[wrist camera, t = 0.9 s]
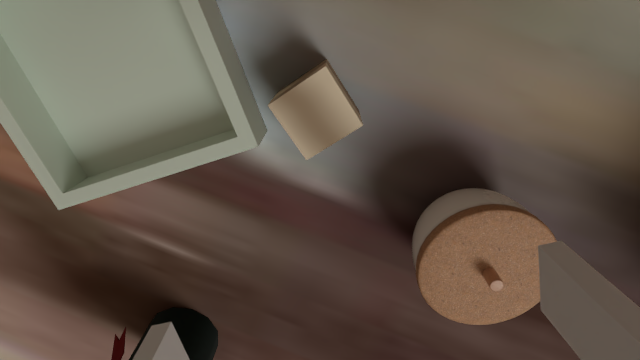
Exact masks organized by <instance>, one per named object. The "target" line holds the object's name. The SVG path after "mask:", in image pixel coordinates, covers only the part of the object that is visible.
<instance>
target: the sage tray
mask: <svg viewBox="0 0 640 360" xmlns="http://www.w3.org/2000/svg"><path fill="white" fill-rule="evenodd" d="M0 123H1V124H2V126H3V127H4V129H5V130H6V132H7V133H8V135H9V136H10V138H11V139H12V141H13V142H14V144H15V145H16V147H17V148H18V150H19V151H20V153H21V154H22V156H23V157H24V159H25V160H26V162H27V163H28V165H29V166H30V168H31V169H32V171H33V172H34V174H35V175H36V177H37V179H38V180H39V182H40V183H41V185H42V186H43V188H44V189H45V191H46V192H47V194H48V195H49V197H50V198H51V200H52V201H53V203H54V204H55V206H56V207H57V209H58V210H61V209H64V208H67V207H70V206H73V205H76V204H79V203H83V202H86V201H89V200H92V199H95V198H98V197H101V196H105V195H108V194H111V193H114V192H117V191H120V190H124V189H127V188H130V187H133V186H136V185H139V184H142V183H146V182H149V181H152V180H155V179H158V178H161V177H164V176H168V175H171V174H174V173H177V172H180V171H183V170H187V169H190V168H193V167H196V166H199V165H202V164H205V163H209V162H212V161H215V160H218V159H221V158H224V157H227V156H231V155H234V154H237V153H240V152H243V151H246V150H250V149H253V148H256V147H258V146H259V145H260V143H261V141H262V139H263V137H264V136H265V134H266V132H267V129H266V126H265V124H264V121H263V119H262V116H261V113H260V111H259V108H258V106H257V103H256V101H255V98H254V96H253V93H252V91H251V88H250V86H249V83H248V81H247V78H246V76H245V73H244V71H243V68H242V65H241V63H240V60H239V58H238V55H237V53H236V50H235V48H234V45H233V43H232V40H231V38H230V35H229V33H228V30H227V28H226V25H225V23H224V20H223V18H222V15H221V12H220V10H219V7H218V5H217V2H216V0H0Z"/></svg>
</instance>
